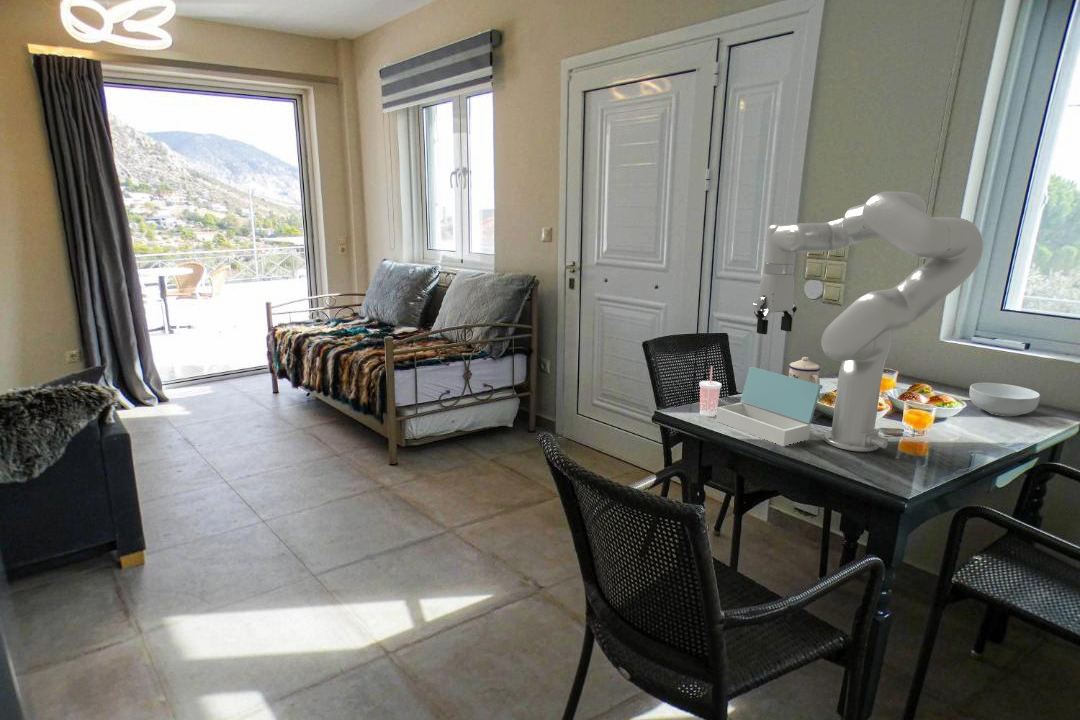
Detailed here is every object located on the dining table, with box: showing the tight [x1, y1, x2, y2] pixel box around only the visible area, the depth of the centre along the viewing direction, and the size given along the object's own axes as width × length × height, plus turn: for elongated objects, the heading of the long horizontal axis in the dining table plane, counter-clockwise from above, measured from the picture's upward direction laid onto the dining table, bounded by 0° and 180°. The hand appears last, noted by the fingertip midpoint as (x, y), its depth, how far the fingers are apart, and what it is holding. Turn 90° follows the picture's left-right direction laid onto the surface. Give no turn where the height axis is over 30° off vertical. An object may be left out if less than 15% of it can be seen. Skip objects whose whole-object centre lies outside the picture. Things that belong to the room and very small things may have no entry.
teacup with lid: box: [788, 356, 821, 385], centre depth 202 cm, size 12×9×12 cm
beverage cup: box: [699, 365, 723, 417], centre depth 181 cm, size 6×6×14 cm
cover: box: [739, 365, 824, 425], centre depth 171 cm, size 22×10×1 cm
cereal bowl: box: [968, 382, 1041, 417], centre depth 187 cm, size 17×17×7 cm
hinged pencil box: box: [715, 402, 812, 447], centre depth 170 cm, size 22×10×4 cm, turn 32°
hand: (773, 332), depth 178 cm, fingers open, 9 cm apart
